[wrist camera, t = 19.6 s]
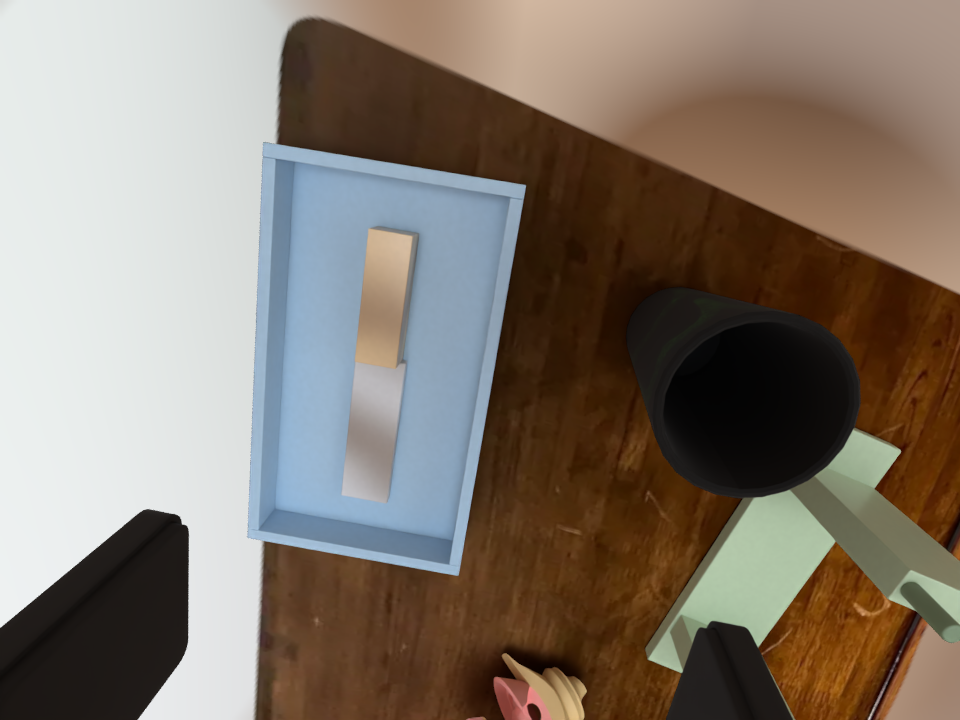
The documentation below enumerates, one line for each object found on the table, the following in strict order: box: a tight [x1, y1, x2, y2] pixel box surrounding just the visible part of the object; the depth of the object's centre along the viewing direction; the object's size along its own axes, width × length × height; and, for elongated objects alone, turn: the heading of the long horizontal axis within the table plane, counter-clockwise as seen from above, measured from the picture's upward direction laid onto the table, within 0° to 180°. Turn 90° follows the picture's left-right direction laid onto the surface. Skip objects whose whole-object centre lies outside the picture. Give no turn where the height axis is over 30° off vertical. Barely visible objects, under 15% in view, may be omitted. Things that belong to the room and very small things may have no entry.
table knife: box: [341, 226, 419, 503], centre depth 33 cm, size 17×3×2 cm, turn 171°
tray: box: [247, 142, 526, 576], centre depth 33 cm, size 23×13×3 cm, turn 171°
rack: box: [645, 428, 960, 720], centre depth 30 cm, size 20×6×14 cm, turn 157°
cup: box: [626, 287, 860, 498], centre depth 27 cm, size 8×8×12 cm
